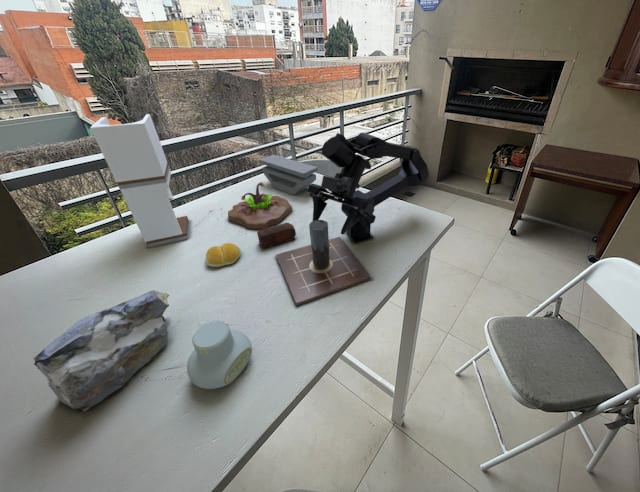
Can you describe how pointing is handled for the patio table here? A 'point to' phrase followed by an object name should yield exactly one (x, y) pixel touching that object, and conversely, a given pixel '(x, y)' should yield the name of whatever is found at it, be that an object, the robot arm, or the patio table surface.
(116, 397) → the patio table surface
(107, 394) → the fossil rock
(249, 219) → the plant
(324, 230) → the dark gray cylindrical container
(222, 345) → the air freshener
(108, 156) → the white box tower
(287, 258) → the grid board
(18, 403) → the patio table surface
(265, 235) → the brick
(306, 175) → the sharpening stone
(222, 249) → the bread roll
